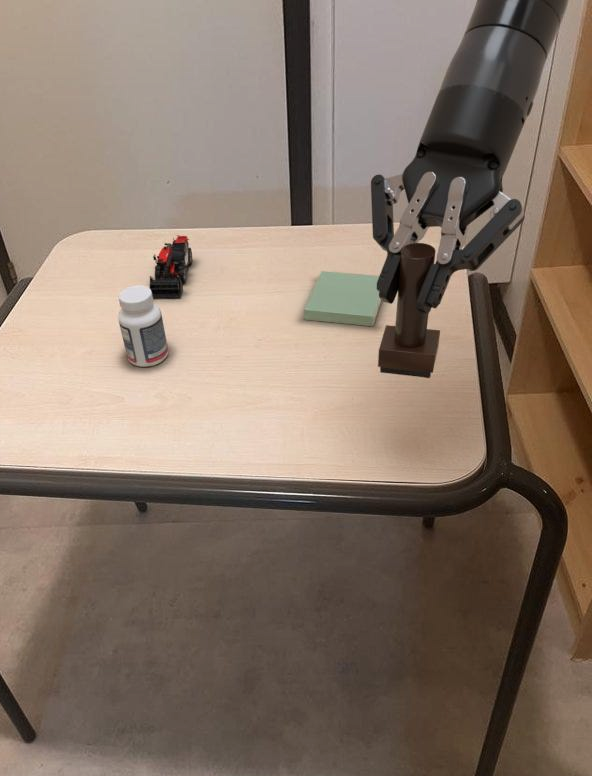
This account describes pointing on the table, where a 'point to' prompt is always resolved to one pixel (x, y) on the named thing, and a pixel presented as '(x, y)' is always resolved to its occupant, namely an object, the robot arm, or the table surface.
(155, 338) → the pill bottle
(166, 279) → the loader
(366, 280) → the tile
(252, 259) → the table surface
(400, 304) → the brown peg on base
